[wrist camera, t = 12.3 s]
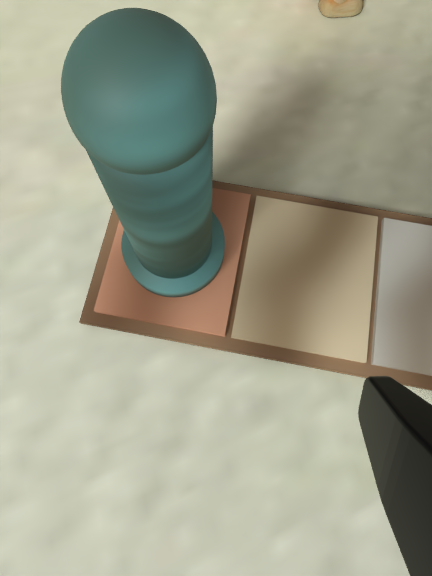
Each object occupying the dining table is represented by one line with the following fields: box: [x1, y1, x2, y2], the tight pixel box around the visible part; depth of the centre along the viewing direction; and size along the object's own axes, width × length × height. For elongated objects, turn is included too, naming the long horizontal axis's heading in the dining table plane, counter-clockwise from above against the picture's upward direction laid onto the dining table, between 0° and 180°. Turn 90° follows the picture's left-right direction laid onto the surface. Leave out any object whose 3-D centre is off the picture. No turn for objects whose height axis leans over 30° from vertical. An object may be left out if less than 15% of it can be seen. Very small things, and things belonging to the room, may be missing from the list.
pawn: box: [61, 8, 225, 297], centre depth 14 cm, size 5×5×12 cm
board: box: [80, 181, 432, 390], centre depth 20 cm, size 20×9×1 cm, turn 79°
